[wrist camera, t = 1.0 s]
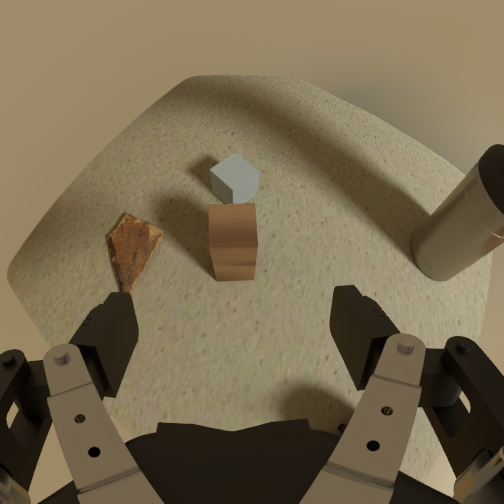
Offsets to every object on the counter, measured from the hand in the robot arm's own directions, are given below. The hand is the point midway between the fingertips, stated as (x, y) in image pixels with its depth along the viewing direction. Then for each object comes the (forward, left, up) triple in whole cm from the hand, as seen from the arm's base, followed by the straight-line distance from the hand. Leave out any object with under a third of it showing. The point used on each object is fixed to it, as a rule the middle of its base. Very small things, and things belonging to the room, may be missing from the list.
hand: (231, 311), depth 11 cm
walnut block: (-4, -11, -24) cm, 26 cm away
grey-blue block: (-8, -21, -24) cm, 33 cm away
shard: (+7, -17, -24) cm, 30 cm away
